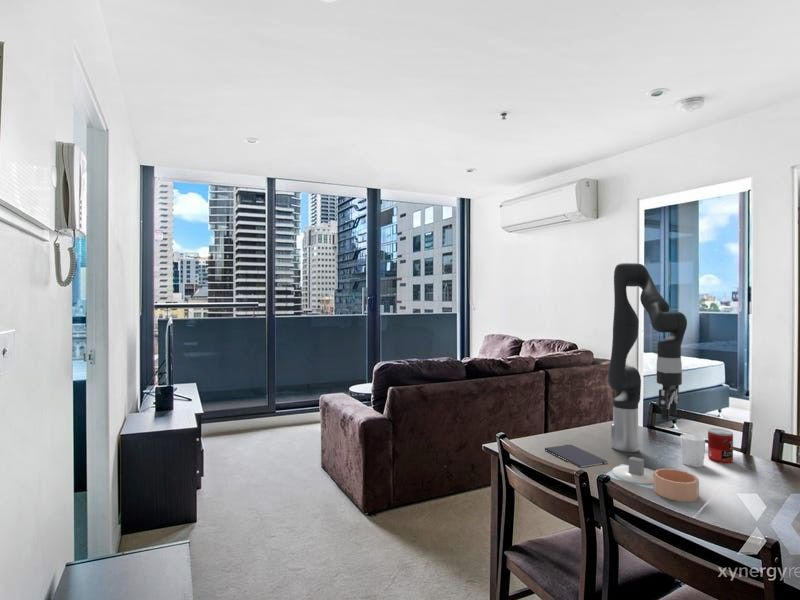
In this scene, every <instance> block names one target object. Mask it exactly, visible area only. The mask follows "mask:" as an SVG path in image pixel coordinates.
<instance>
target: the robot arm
mask: <svg viewBox="0 0 800 600" xmlns="http://www.w3.org/2000/svg"><path fill="white" fill-rule="evenodd" d="M627 287H638V288H640V289H641V290H642V291H641V293H640V297H639V299H640V302H641V303H640V304H641V305H642V307H643V308H644V309H645V311H646V312H647V314H648V316H649V320H650V324H651V328H652V329H653V330H654V331H656V332H658V333H662V334H663V333H669V335H668V337H666V338H663V339H659V340H658V341H657V344H656V345H657V349H656V351H657V352H656V353H657V358H656V384H659V385H662V389H659V390H658V408H660V410H661V411H660V413H661V420H664V421H668V420H670V415H671V416H676V415H677V409H678V408H677V407H678V406H677V405H678V403H679V401H680V389H679V387H680V386H681V385H682V384H683V379H682V377H683V375H682V373H683V367H682V366H683V365H682V363H683V362H682V343H683V340H684V337H685V336H684V335H685V333H686V330H687V327H688V319H687V317H686V316H685V314H684V313H682V312H680V311H670V305H669V304H668V302H667V301H666V299H665V298H663V295H662V294H661V293H660V292H659V290H658V289H657V287H656V286H655V284H654V281H653V278H652V277H651V275H650V273H649V271H648V269H647V267H646V266H644V265H643V264H641V263H634V262H632V263H630V262H623V263H621V262H620V263H617V264H616V266H615V268H614V270H613V293H614V295H613V296H614V303H613V304H614V305H613V306H614V308H613V320H612V321H613V323H612V345H611V354H610V355H611V357H610V361H609V367H608V376H607V377H608V378H607V379H608V384H609V387H610V388H611V389H612V390H613V391H619V392H620V391H621V393H619V395H617V396H615V397H614V398H613V399H612V424H611V425H610V445H611V447H610V448H611V449H614V450H616V451H620V452H624V453H636V452H638V451H639V403H640V401H641V389H642V378H641V374H640V372H639V370H638V369H637V368H636V367H634V366H626V363H627V358H628V355H629V353H630V351H631V349H633V347H634V345H635V343H636V341H637V339H638V336H639V324H640V321H639V317H638V315H637V313H636V311H635V310H634V308H633V307H632V304H630V300H629V298H628V295H627V293H628V292H627Z"/></svg>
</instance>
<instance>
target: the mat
mask: <svg viewBox="0 0 800 600" xmlns="http://www.w3.org/2000/svg"><path fill="white" fill-rule="evenodd" d="M624 465H626V464H625V463H621V464H619V465H618V466H624ZM605 474H606V475H609V476H610V477H611V478H610V479H614V480H617V481H621V482H625V483H628V484H631V485H635V486H639V487H643V488H647V489H650V490H654V488H653V484H637V483H631V482H627V481H624V480H621V479H619V478H617V477H616V476H614V475H613V469H612V470H610V471H608V472H607V473H605Z"/></svg>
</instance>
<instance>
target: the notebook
mask: <svg viewBox="0 0 800 600" xmlns="http://www.w3.org/2000/svg"><path fill="white" fill-rule="evenodd" d="M545 450H547V451H549V452H551V453H553V454H555V455H557V456H560V457H562V458H564V459H566V460H568V461H570V462H572V463H573V465H574V464H575V466H576V465H577V466H576V467H578V468H583V467H584V468H585V467H592V466H599V465H605V464H607V463H608V460H606V459H605V458H602V457H599V456H597V455H595V454H593V453H590V452H589V451H586V450H584V449H582V448H579V447H578V446H575V445H573V444H565V445H558V446H550V447H544V451H545ZM547 451H546V452H547ZM549 452H548V453H549ZM551 453H550V454H551ZM553 454H552V455H553ZM555 455H554V456H555ZM557 456H556V457H557ZM570 462H569V463H570ZM572 463H571V464H572Z"/></svg>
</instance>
